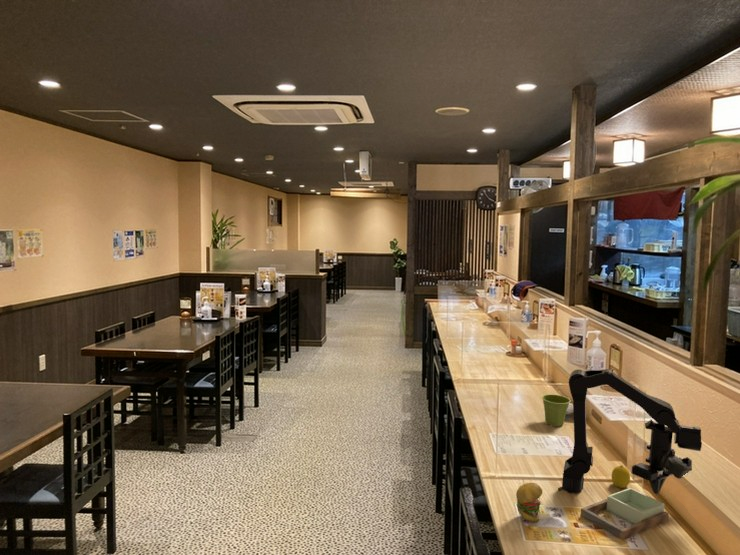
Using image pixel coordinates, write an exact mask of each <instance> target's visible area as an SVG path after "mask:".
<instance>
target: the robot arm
mask: <svg viewBox="0 0 740 555" xmlns="http://www.w3.org/2000/svg"><path fill="white" fill-rule="evenodd" d="M568 386H569V392H570V395H571V398H572V403H573V404H572V405H573V406H572V407H573V410H572V411H573V440H574V441H573V450H572V455H571V457H569V458H567V459H566V460H565V462H564V464H563V465H564V466H563V473H562V484H561V486H560V487H558V488H557V490H558V491H564V492H567V493H568V494H580V493H582V491H583V489H584V482H585V478H584V476H585V474H587V473H589V472H590V470H591V467H593V466H594V465H593V464H594V456H593V449H594V446H589V445H588V442H587V440H588V439H587V437H588V436H587V409H586V408H587V404H586V402H587V401H586V399H587V394H588V389H594V388H597V387H600V386H609V387H610V388H612V389H613V390H615V392H618V393H619V394H621V395H622V396H624V397H625V398H626V399H628V400H630V401H631V402H632V403H634V404H636V405H637V406H639V407H640V408H641V409H642V410H644V411H645V412H646V414H647V415H648V416H649V417H650V418H651V419H650V420H648V421H646V422H645V423H644V427H645V429H646V430H650V439H649V441H650V442H649V444H647V445H646V450H649V452H648V457H647V458H645V462H646V463H648V464H646V463H644V462H639V463H635V464H634V465H631V474H632V475H634V476H637V477H639V478H641V479H644V480H646V481H648V482H649V485H650V487H651V490H652V492H653V494H655V495H658V494H660V492H661V490H662V487H663V485H664V483H665V481H666V480H667V478H668V477H670V476H673V477H675V478H677V479H679V480H680V479H682V478H683V477H682V476H683V475H685V474H686V473H689V472H691V471H693V467H692V466H693V464H692V463H693V462H692V459H691V458H690V457H688V456H686V457H683V458H682V457H680V456H676V455H675V454H676V451H675V449H674V448H672V445H673V444H672V443H674V444H676V446H677V447H678V448H679V449H684V450H689V451H690V450H691V451H696V452H701V451H702V446H703V443H702V430H701V427H700V426H688V425H683V424H680V421H679V420H678V419H677V418H676V413H675V411H674V408H673V406H672V405H671V403H669V402H667V401H666V400H663V399H661V398H658V397H655V396H652V395H649V394H647V393H646V392H644V391H642V390H641V389H639V388H638V387H636V386H635V385H633V384H632V383H630V381H627V380H625V379H624V378H622V377H621V376H620V375H618V374H616V373H615V372H613V370H611V369H607V368H606V369H600V370H599V369H596V370H595V369H593V370H591V369H590V370H583V369H574V370H573V371H572V372H571V373H570V375H569V379H568ZM678 457H679V458H678Z"/></svg>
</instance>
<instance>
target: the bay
mask: <svg viewBox="0 0 740 555" xmlns="http://www.w3.org/2000/svg"><path fill="white" fill-rule="evenodd" d="M606 509H607V498H606V499H604V500H600V501H598V502H595V503H593V504H589V505H587V506H583V507H581V508H580V517H581V518H583V519H584V520H586V521H587V522H590V523H591V524H593V525H594V526H597V527H599V528H600V529H602V530H604V531H606V532H607V533H609V534H611V535H612V536H614V537H616V538H618V539H620V540H621V541H625V540H627V539H630V538H632V537H634V536H636V535H639V534H641V533H643V532H646V531H647V530H650V529H652V528H654V527H657V526H659V525H661V524H664V523H666V522H668V521H669V514H670V513H669V512H668V511H666V510H664V512H662V513H660V514H657V515H655V516H653V517H650V518H648V519H645V520H643V521H641V522H638V523H636V524H631V525H629V526H627V527H624V528H622V527H620V526H619V525H617V524H615V523H613V522H611V521H610V520H607V518H604V517H602V516H600V515H599V514H597V513H601V512H603V511H607V510H606Z"/></svg>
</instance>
